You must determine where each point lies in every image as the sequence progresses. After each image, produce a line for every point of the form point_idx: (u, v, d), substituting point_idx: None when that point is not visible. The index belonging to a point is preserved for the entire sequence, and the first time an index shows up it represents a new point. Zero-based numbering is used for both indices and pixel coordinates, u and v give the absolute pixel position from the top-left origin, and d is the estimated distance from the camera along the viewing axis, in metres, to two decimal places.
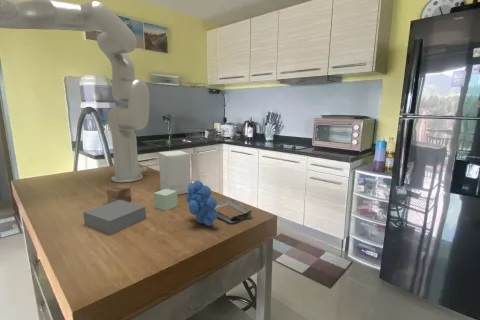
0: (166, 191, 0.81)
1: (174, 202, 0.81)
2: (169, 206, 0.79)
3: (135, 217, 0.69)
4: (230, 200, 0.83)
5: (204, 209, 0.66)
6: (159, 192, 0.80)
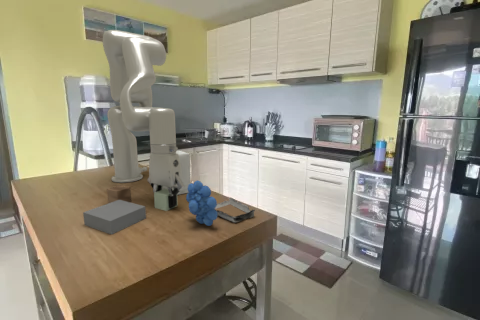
0: (166, 191, 0.81)
1: None
2: None
3: (135, 217, 0.69)
4: (231, 200, 0.83)
5: (204, 209, 0.66)
6: (159, 192, 0.80)
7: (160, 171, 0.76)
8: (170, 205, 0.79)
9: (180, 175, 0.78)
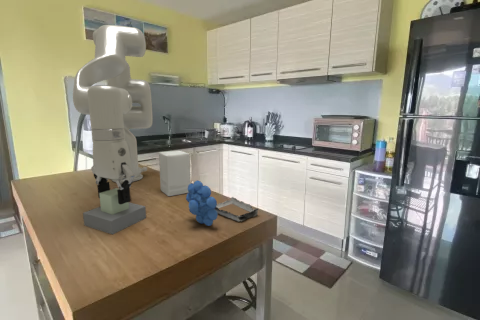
0: (115, 191, 0.69)
1: (124, 204, 0.69)
2: (116, 208, 0.67)
3: (136, 217, 0.69)
4: (233, 199, 0.84)
5: (204, 209, 0.66)
6: (106, 192, 0.68)
7: (103, 161, 0.64)
8: (120, 200, 0.66)
9: (129, 166, 0.66)
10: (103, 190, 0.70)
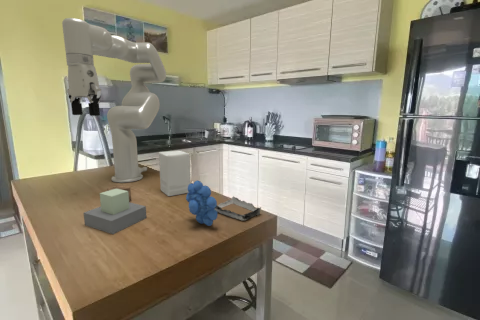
0: (115, 191, 0.69)
1: (125, 204, 0.69)
2: (117, 208, 0.67)
3: (136, 217, 0.70)
4: (235, 199, 0.84)
5: (204, 209, 0.66)
6: (106, 192, 0.68)
7: (76, 81, 0.81)
8: (91, 112, 0.82)
9: None
10: (76, 108, 0.87)
